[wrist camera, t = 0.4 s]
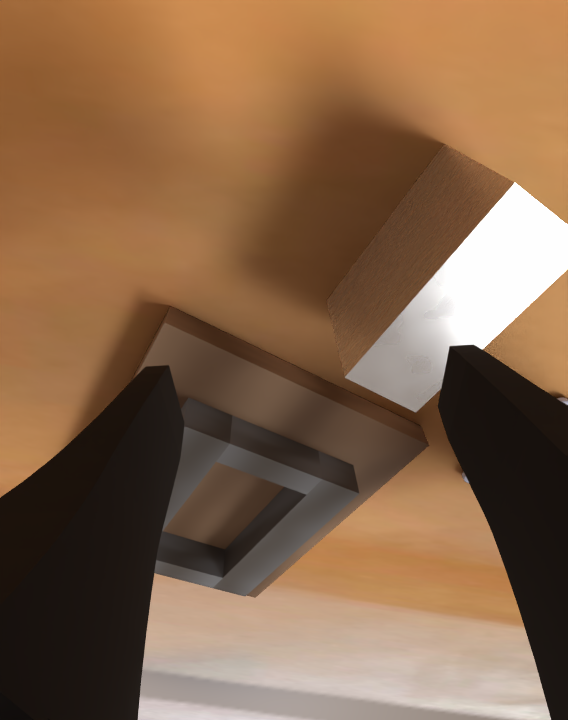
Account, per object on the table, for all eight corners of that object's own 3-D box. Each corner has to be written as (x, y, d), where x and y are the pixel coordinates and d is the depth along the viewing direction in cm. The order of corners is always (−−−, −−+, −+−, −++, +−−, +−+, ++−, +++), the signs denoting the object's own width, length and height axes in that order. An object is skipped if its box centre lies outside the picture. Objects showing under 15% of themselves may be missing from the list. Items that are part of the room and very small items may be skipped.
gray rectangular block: (504, 191, 18) (591, 245, 13) (382, 331, 22) (415, 412, 17) (443, 143, 17) (515, 182, 12) (326, 300, 21) (344, 377, 16)
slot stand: (421, 426, 26) (440, 473, 23) (255, 578, 36) (254, 624, 33) (170, 306, 21) (155, 347, 18) (55, 523, 30) (34, 573, 27)
